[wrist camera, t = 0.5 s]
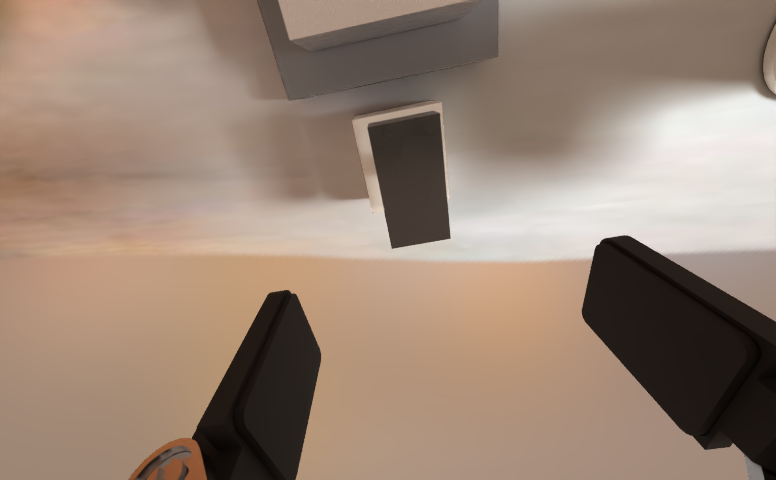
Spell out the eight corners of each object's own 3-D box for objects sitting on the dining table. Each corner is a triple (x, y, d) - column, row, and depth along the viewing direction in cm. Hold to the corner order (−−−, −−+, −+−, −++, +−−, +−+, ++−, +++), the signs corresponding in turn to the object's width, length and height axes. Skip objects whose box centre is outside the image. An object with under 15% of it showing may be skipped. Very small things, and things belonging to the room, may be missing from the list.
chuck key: (417, 104, 27) (439, 113, 17) (427, 190, 32) (450, 238, 22) (371, 113, 28) (367, 127, 18) (387, 198, 32) (391, 248, 22)
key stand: (432, 100, 28) (441, 102, 24) (440, 185, 32) (449, 198, 28) (355, 116, 29) (351, 120, 25) (373, 197, 33) (372, 212, 29)
